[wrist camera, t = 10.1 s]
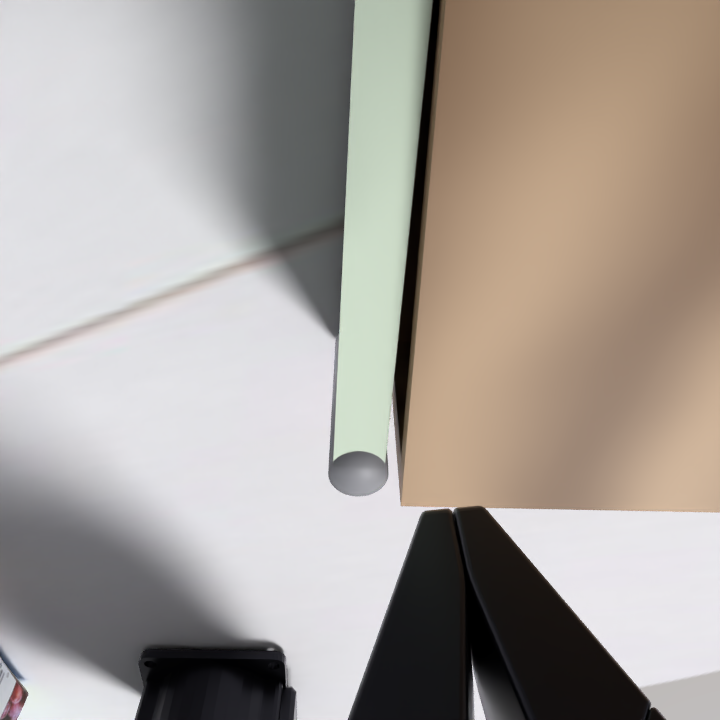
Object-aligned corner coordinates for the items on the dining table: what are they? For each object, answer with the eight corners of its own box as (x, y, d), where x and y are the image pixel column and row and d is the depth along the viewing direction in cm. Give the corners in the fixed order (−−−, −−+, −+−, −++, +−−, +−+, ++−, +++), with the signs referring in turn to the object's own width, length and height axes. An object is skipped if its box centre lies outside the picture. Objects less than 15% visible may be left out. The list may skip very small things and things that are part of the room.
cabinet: (388, 349, 21) (401, 506, 15) (433, -363, 13) (503, -646, 7) (694, 357, 21) (826, 514, 15) (944, -339, 13) (1456, -593, 7)
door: (312, 360, 21) (297, 494, 16) (329, -358, 12) (308, -580, 7) (378, 363, 21) (385, 497, 16) (440, -348, 12) (499, -562, 7)
